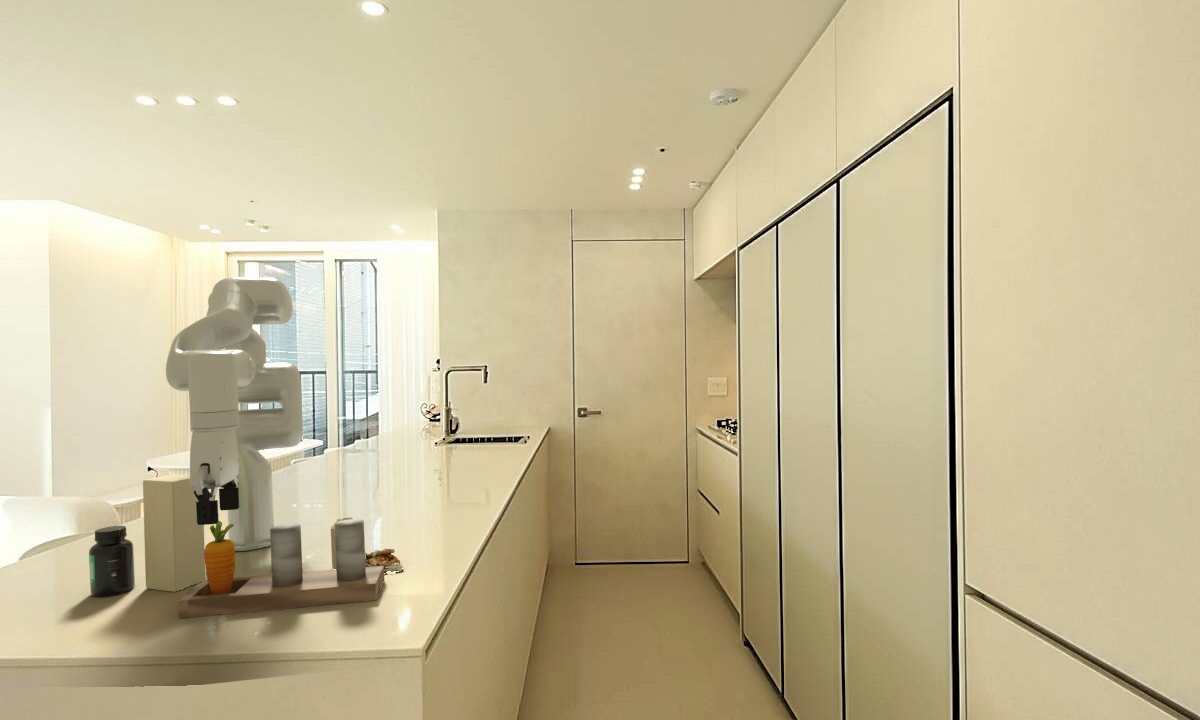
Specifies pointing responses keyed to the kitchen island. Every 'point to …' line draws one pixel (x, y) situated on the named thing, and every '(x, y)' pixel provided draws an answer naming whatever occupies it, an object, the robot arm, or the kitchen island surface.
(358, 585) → the rail
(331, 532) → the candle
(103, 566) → the supplement bottle
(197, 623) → the kitchen island surface
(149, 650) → the kitchen island surface
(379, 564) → the brown irregular lump
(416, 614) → the kitchen island surface
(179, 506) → the beige tall rectangular block
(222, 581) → the carrot
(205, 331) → the robot arm
